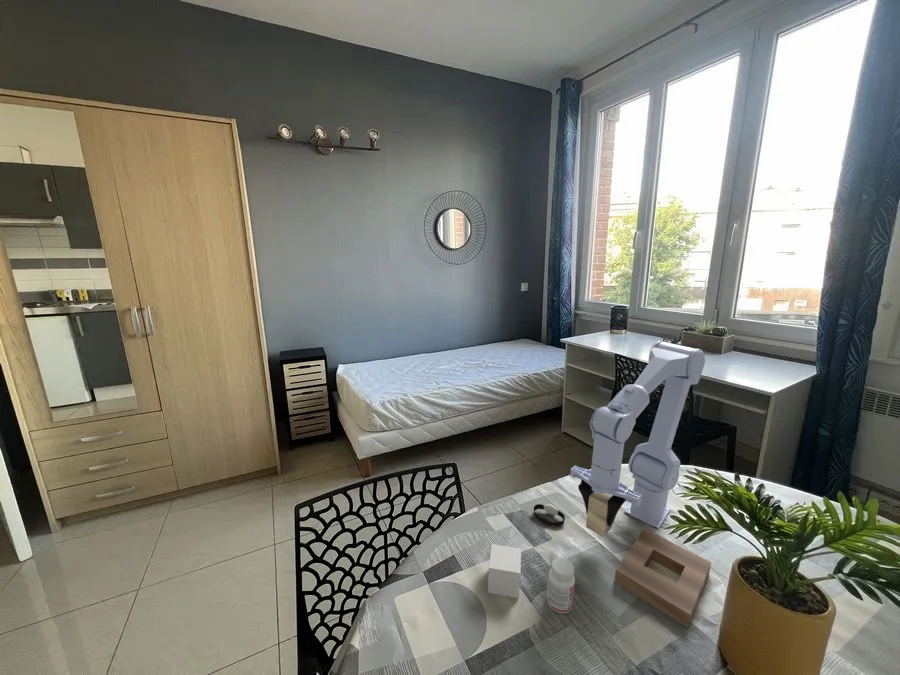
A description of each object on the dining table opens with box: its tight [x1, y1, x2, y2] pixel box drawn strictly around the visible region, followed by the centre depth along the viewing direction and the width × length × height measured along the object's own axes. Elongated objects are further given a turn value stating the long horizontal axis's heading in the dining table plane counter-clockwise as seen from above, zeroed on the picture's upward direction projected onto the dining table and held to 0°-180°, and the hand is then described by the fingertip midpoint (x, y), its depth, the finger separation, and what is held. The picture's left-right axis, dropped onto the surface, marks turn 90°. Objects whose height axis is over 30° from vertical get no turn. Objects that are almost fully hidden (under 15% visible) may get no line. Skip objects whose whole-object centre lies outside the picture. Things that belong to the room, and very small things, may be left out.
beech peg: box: [585, 492, 613, 538], centre depth 81 cm, size 4×4×8 cm
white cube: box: [487, 543, 522, 599], centre depth 74 cm, size 6×6×6 cm
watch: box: [533, 503, 566, 527], centre depth 92 cm, size 8×5×4 cm, turn 58°
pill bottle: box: [545, 557, 576, 614], centre depth 70 cm, size 5×5×8 cm
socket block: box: [613, 528, 712, 629], centre depth 76 cm, size 16×13×3 cm
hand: (599, 517), depth 82 cm, fingers closed on beech peg, 4 cm apart
